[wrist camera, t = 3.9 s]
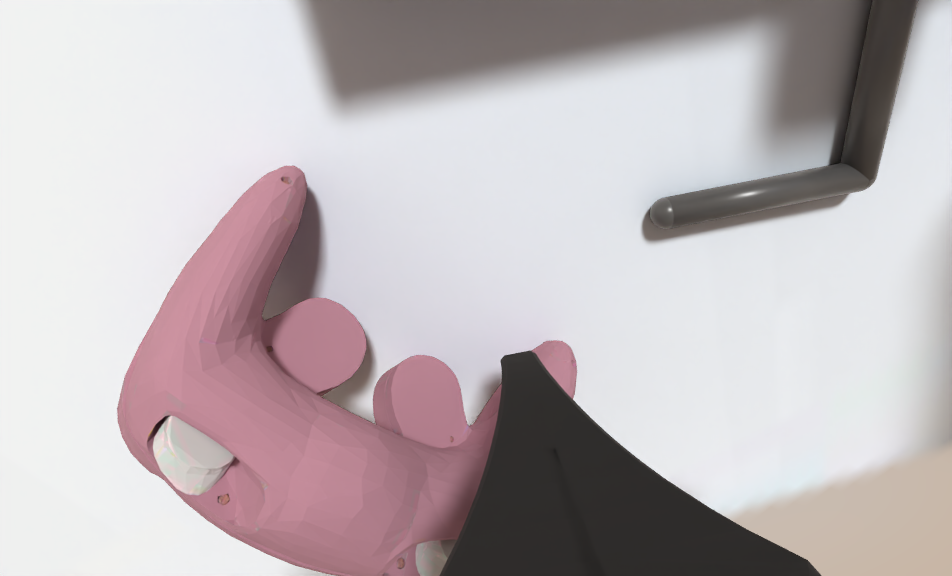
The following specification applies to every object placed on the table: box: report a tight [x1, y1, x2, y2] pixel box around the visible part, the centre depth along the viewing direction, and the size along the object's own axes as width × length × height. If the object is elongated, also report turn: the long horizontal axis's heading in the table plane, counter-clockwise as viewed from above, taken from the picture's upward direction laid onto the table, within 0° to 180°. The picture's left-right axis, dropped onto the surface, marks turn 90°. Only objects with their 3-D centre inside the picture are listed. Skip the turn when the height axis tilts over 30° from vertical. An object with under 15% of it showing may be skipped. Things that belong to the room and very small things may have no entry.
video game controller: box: [117, 166, 577, 576], centre depth 12 cm, size 10×5×7 cm, turn 52°
